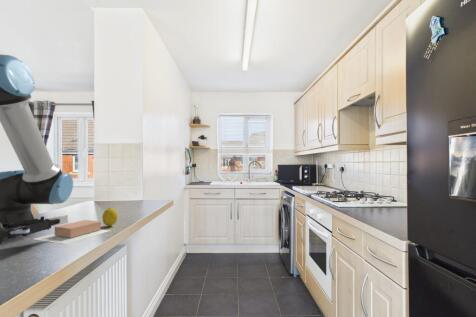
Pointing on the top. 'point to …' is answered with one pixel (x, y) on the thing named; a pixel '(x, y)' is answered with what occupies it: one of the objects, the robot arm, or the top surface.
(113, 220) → the lemon
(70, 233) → the block
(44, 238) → the mat
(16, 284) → the top surface
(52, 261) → the top surface
